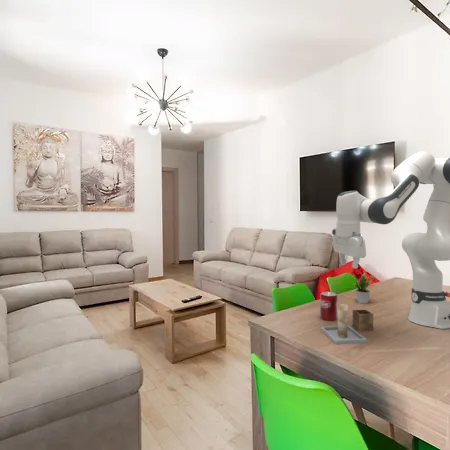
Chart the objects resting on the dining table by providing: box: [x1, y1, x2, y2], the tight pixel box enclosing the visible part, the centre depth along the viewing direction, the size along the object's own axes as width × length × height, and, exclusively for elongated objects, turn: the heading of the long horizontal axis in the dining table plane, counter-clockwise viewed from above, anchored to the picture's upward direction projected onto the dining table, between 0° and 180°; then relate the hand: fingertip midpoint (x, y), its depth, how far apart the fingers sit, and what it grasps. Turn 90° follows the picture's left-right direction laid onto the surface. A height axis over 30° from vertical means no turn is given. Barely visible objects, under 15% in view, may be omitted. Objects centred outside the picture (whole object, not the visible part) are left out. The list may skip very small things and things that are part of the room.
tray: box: [320, 325, 368, 345], centre depth 124 cm, size 12×14×2 cm
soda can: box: [319, 291, 338, 322], centre depth 144 cm, size 7×7×12 cm
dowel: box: [337, 303, 349, 338], centre depth 124 cm, size 4×4×12 cm
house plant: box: [351, 271, 375, 305], centre depth 170 cm, size 14×14×16 cm
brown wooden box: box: [351, 309, 374, 332], centre depth 132 cm, size 6×6×8 cm
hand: (348, 265), depth 129 cm, fingers open, 8 cm apart
